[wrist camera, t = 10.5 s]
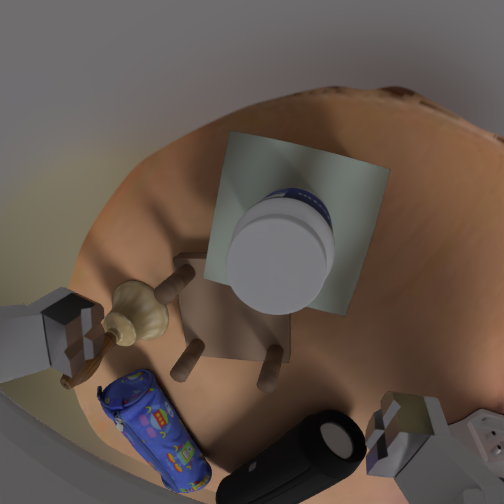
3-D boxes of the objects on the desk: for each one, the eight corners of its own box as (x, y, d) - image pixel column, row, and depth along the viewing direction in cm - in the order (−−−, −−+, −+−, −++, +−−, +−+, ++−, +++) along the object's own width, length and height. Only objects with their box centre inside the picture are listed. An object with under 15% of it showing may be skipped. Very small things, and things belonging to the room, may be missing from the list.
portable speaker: (314, 391, 38) (308, 451, 28) (369, 421, 38) (374, 478, 28) (220, 468, 47) (203, 512, 37) (267, 490, 47) (256, 533, 37)
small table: (373, 165, 29) (390, 169, 21) (340, 280, 33) (345, 316, 25) (252, 136, 30) (230, 130, 23) (229, 250, 34) (203, 278, 27)
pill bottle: (345, 238, 23) (359, 293, 14) (280, 273, 25) (256, 343, 16) (305, 170, 23) (294, 182, 13) (240, 211, 25) (190, 248, 15)
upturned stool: (290, 253, 33) (280, 283, 26) (290, 352, 36) (282, 398, 29) (180, 252, 36) (145, 279, 28) (193, 345, 39) (167, 384, 31)
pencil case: (116, 364, 44) (81, 402, 35) (160, 359, 41) (126, 403, 32) (179, 459, 48) (159, 498, 39) (221, 460, 46) (205, 504, 37)
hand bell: (161, 280, 37) (78, 351, 22) (175, 341, 39) (110, 425, 25) (107, 280, 39) (21, 338, 24) (122, 336, 41) (51, 405, 26)
